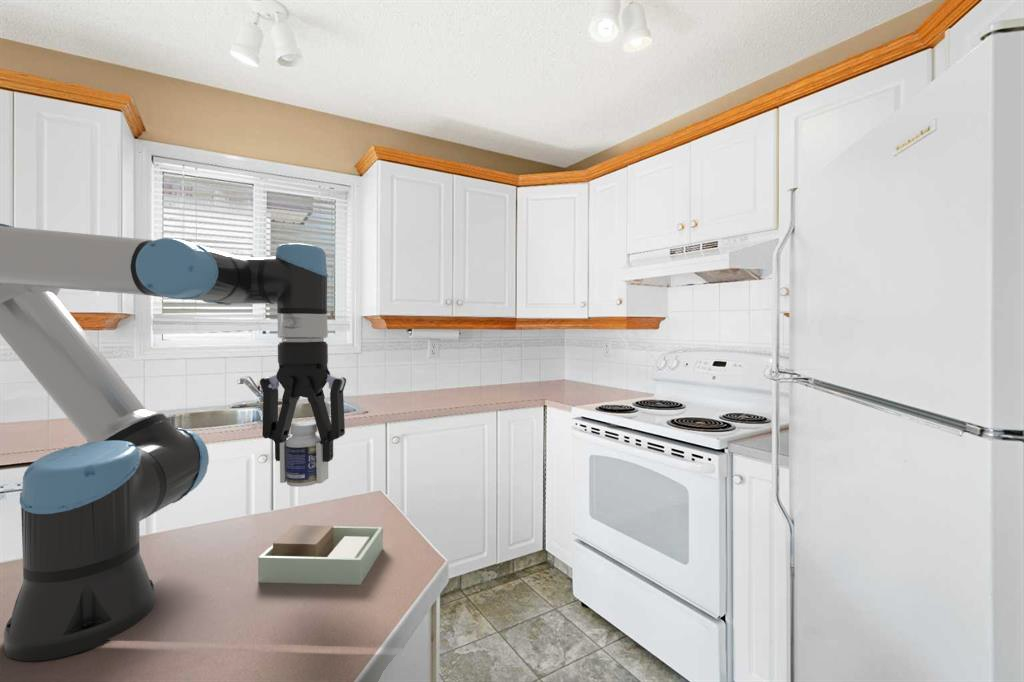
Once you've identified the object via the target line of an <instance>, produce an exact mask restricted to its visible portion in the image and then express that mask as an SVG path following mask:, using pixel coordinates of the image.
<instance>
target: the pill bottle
mask: <svg viewBox="0 0 1024 682" xmlns="http://www.w3.org/2000/svg"><path fill="white" fill-rule="evenodd" d="M317 432H318V428H317V425H316V421H299V422H292V423H291V427H290V434H292V435H291V436H290V437H289V438H287V439H286V440H287V442H286V481H287V482H286V484H287V486H289V487H293V488H295V487H300V488H301V487H308V486H313V485H316V484H318V483H317V470H316V444H317V443H319V441H321V439H320V435H319V434H316V433H317Z"/></svg>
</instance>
